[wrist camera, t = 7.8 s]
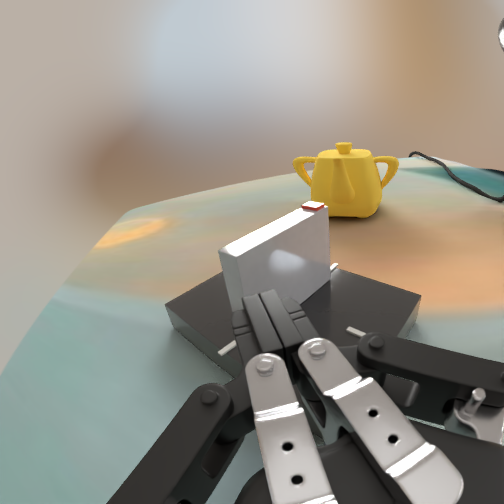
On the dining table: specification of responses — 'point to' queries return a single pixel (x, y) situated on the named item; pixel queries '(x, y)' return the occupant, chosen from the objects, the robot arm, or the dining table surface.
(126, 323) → the dining table surface
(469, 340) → the dining table surface
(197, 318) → the hob panel
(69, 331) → the dining table surface
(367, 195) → the teapot
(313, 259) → the knob
